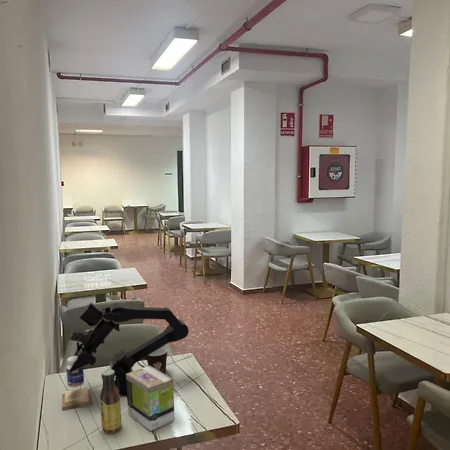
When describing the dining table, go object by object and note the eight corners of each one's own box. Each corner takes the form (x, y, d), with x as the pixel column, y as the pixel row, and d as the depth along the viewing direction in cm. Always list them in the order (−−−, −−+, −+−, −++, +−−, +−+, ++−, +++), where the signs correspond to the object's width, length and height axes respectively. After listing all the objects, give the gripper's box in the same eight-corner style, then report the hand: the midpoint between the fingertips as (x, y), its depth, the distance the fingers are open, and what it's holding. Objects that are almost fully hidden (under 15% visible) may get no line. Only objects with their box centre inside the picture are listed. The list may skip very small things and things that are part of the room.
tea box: (176, 420, 146) (174, 378, 144) (150, 432, 139) (147, 388, 137) (152, 403, 157) (150, 363, 155) (127, 413, 150) (124, 373, 149)
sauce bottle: (104, 424, 144) (100, 367, 142) (123, 423, 145) (119, 366, 142) (100, 436, 138) (95, 376, 135) (120, 434, 138) (116, 375, 136)
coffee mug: (171, 370, 182) (170, 347, 181) (163, 380, 174) (162, 356, 173) (145, 368, 185) (144, 346, 184) (136, 378, 176) (135, 354, 175)
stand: (90, 391, 166) (90, 385, 166) (91, 404, 157) (91, 398, 157) (62, 397, 163) (62, 391, 163) (62, 410, 154) (61, 404, 153)
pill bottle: (73, 389, 155) (71, 362, 154) (64, 385, 159) (62, 359, 158) (87, 383, 160) (85, 357, 158) (78, 379, 163) (76, 353, 162)
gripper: (81, 313, 166) (53, 345, 164) (83, 329, 149) (51, 365, 147) (104, 329, 170) (77, 361, 168) (108, 347, 153) (78, 383, 150)
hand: (70, 367), depth 158 cm, fingers closed on pill bottle, 6 cm apart
